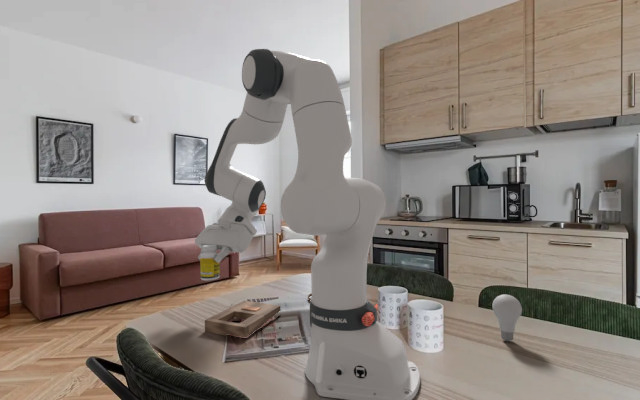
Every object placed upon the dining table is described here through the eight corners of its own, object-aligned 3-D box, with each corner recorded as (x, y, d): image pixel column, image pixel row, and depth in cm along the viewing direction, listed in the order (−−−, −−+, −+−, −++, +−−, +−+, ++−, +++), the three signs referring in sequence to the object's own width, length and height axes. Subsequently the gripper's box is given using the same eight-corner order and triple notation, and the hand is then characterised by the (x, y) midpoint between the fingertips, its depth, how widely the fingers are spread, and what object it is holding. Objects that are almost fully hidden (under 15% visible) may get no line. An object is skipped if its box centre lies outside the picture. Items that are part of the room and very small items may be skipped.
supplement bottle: (216, 280, 96) (215, 246, 96) (197, 281, 96) (196, 247, 96) (222, 276, 101) (221, 244, 101) (204, 276, 101) (203, 244, 101)
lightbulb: (525, 340, 79) (524, 294, 79) (518, 349, 75) (518, 300, 75) (496, 333, 83) (496, 289, 83) (489, 341, 79) (488, 295, 79)
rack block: (280, 315, 98) (280, 304, 98) (245, 339, 83) (245, 326, 83) (244, 310, 104) (244, 299, 104) (204, 331, 88) (204, 319, 88)
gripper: (205, 217, 110) (179, 251, 102) (250, 218, 98) (224, 257, 90) (217, 229, 114) (193, 263, 106) (261, 231, 102) (237, 270, 94)
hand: (208, 260), depth 98 cm, fingers closed on supplement bottle, 5 cm apart
